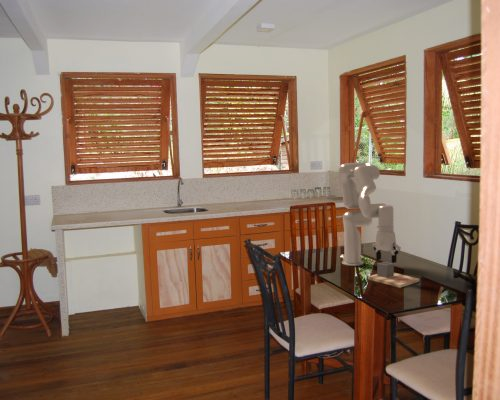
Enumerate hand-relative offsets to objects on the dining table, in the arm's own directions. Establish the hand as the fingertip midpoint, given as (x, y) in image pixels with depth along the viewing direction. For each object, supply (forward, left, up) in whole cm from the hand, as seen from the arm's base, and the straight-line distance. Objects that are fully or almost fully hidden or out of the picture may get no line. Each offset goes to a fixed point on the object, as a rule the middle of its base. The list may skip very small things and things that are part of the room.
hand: (386, 261), depth 254 cm
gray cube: (-1, 0, -8) cm, 8 cm away
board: (+4, 0, -10) cm, 11 cm away
